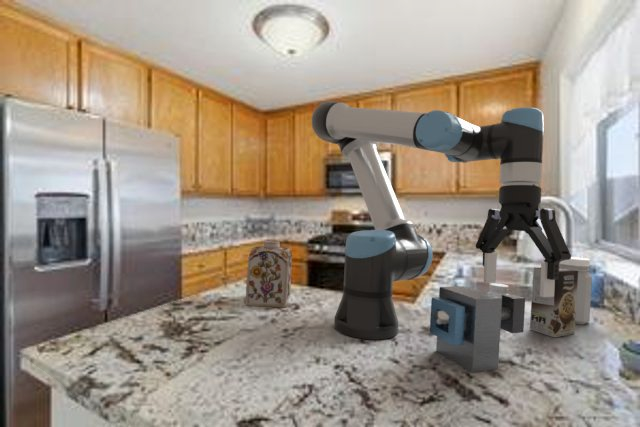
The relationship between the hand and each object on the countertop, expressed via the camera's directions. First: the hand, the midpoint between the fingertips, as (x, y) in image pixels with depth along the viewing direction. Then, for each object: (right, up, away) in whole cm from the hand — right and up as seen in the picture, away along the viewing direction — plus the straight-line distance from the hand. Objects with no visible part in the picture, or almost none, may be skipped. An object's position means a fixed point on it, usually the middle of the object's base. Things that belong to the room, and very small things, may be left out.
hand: (515, 288), depth 72 cm
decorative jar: (-55, -11, +32) cm, 65 cm away
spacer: (-16, -8, -5) cm, 19 cm away
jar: (+31, -15, +29) cm, 46 cm away
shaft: (-9, -8, -3) cm, 12 cm away
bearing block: (-12, -13, -3) cm, 18 cm away
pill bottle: (+8, -14, +24) cm, 29 cm away
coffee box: (+19, -15, +17) cm, 29 cm away
